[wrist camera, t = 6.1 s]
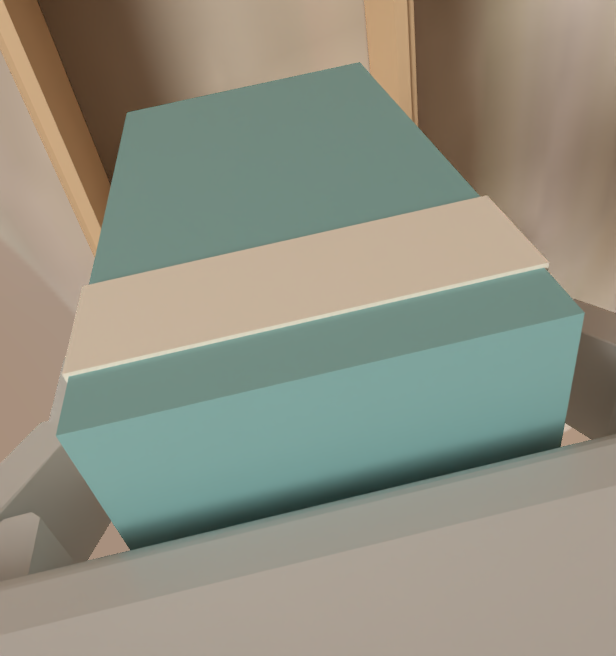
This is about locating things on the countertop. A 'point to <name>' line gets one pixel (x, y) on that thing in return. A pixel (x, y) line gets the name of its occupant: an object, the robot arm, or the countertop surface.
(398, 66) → the carton
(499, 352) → the tea box
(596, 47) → the countertop surface
